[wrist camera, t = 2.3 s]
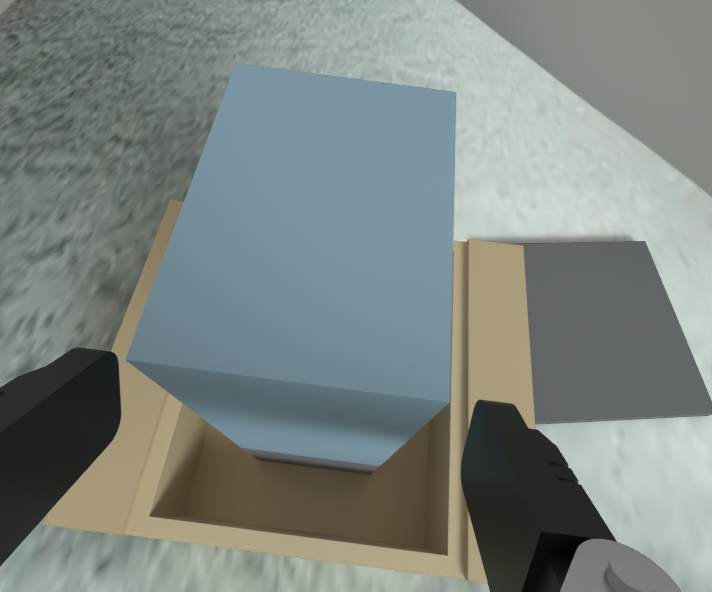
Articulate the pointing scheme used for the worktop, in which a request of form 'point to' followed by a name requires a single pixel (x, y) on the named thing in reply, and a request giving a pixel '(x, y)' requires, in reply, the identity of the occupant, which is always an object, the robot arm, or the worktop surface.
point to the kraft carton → (308, 484)
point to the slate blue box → (311, 270)
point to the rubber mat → (606, 336)
